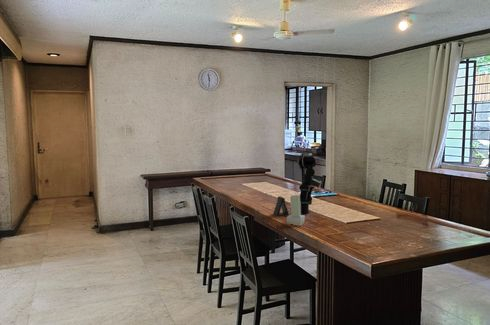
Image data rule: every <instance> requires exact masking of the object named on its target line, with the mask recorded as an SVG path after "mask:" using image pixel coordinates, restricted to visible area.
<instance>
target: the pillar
mask: <svg viewBox="0 0 490 325" xmlns="http://www.w3.org/2000/svg"><path fill="white" fill-rule="evenodd" d="M289 199H290V201H289V202H290V214H291V217H300V215H302V213H301V208H300V206H301V204H300V194H299V195H298V194H297V195H295V194H294V195H291V196H290V198H289Z"/></svg>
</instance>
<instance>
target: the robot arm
mask: <svg viewBox="0 0 490 325" xmlns="http://www.w3.org/2000/svg"><path fill="white" fill-rule="evenodd" d="M297 165H298V168H299V170H300V172H301V173H300V174H301V176H300V177H301V179H300V180H301V184H300V185H299V186H298V190H299V191H300V192H299V195H300V208H301V214H305V215H308V214H309V213H311V211H310V210H309V209H310V206H311V205H312V203H313V196H312V193H313V190H314V189H315V188H320V187H321V185H322V180H321V178H317V179H315V178H314V176H315V172H316V171H315V169H314V168H315V167H316V166H317V162H316V158H315V157H314V155H310V152H301V154H300V155H299V156H298V157H297ZM313 167H314V168H313Z"/></svg>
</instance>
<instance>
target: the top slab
mask: <svg viewBox="0 0 490 325" xmlns="http://www.w3.org/2000/svg"><path fill="white" fill-rule="evenodd" d="M303 220H304V221H305V220H306V214H305V215H303V214H301V215H300V217H291V213H290V214H289V215H287V216H286V222H287V221H290V222H299V223H301V222H302V221H303Z"/></svg>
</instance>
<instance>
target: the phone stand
mask: <svg viewBox="0 0 490 325" xmlns="http://www.w3.org/2000/svg"><path fill="white" fill-rule="evenodd" d="M276 198H277V199H276V200H277V202H276V205H275V207H274V210H273V215H275V216H277V217H280V215H282V216H289V215H290V214H289V211H288V208H287V205H286V202H285V201H286V200H285V198H284V197H283V196H277V197H276ZM281 211H282V212H281Z"/></svg>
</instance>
